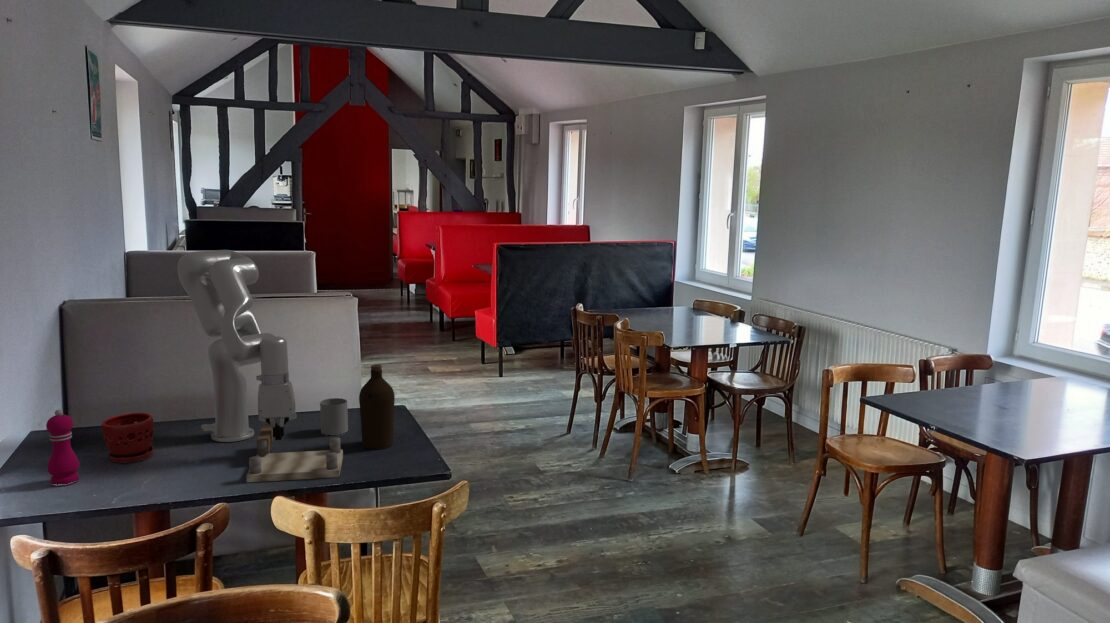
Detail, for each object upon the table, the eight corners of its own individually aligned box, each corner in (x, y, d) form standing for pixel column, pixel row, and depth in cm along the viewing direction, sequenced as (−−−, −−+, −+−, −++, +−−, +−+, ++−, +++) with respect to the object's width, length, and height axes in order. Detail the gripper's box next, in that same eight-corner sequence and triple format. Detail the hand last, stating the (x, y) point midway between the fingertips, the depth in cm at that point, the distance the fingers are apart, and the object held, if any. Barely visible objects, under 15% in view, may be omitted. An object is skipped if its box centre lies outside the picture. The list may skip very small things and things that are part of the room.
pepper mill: (46, 489, 203) (39, 414, 200) (51, 479, 210) (44, 407, 207) (78, 485, 206) (72, 411, 203) (82, 475, 213) (76, 404, 209)
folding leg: (268, 455, 223) (267, 441, 223) (256, 455, 223) (256, 442, 222) (273, 438, 238) (273, 425, 237) (263, 438, 237) (262, 426, 237)
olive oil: (397, 448, 238) (396, 368, 234) (361, 451, 235) (359, 370, 231) (393, 437, 248) (391, 360, 244) (358, 440, 245) (356, 362, 241)
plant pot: (141, 447, 236) (138, 409, 234) (164, 456, 228) (162, 417, 226) (95, 459, 225) (92, 419, 223) (118, 469, 218) (115, 428, 216)
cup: (319, 429, 255) (318, 399, 254) (345, 426, 259) (344, 397, 257) (323, 437, 248) (322, 406, 246) (349, 433, 251) (349, 403, 250)
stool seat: (246, 482, 210) (245, 461, 209) (257, 460, 226) (256, 440, 225) (339, 477, 215) (338, 456, 214) (343, 455, 231) (342, 436, 230)
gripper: (246, 383, 225) (250, 444, 228) (300, 380, 228) (303, 441, 231) (250, 377, 232) (254, 436, 235) (303, 374, 235) (306, 433, 238)
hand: (278, 438), depth 233 cm, fingers closed
